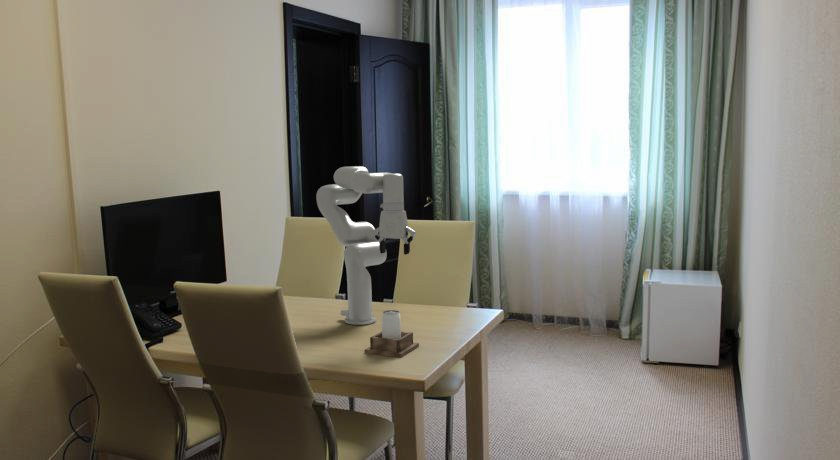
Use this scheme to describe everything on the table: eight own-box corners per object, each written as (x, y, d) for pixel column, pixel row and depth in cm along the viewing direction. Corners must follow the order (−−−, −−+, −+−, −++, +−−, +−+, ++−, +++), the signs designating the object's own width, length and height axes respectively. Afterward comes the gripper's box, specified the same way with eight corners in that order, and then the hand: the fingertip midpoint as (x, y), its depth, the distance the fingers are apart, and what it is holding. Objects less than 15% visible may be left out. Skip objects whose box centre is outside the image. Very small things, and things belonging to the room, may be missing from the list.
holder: (364, 353, 252) (364, 338, 251) (383, 342, 264) (382, 328, 264) (401, 357, 246) (401, 342, 245) (418, 346, 259) (418, 331, 258)
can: (403, 344, 257) (403, 310, 256) (397, 349, 251) (396, 314, 250) (386, 343, 259) (385, 309, 258) (379, 348, 253) (378, 313, 252)
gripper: (367, 207, 271) (369, 254, 273) (410, 208, 264) (411, 256, 266) (377, 206, 278) (378, 251, 280) (419, 206, 271) (420, 253, 273)
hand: (394, 253), depth 273 cm, fingers open, 9 cm apart
